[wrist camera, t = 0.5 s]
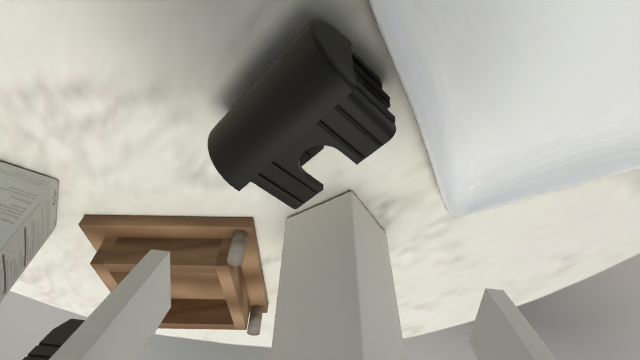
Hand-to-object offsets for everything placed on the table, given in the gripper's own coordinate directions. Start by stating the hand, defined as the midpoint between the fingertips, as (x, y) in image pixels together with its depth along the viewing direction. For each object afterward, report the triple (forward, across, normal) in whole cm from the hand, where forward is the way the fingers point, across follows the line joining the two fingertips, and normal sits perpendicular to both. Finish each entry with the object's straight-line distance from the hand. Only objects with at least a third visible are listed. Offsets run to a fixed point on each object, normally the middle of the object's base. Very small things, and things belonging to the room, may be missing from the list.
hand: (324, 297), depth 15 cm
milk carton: (+19, +2, -6) cm, 20 cm away
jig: (+21, -14, -14) cm, 29 cm away
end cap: (+13, -3, +7) cm, 15 cm away
